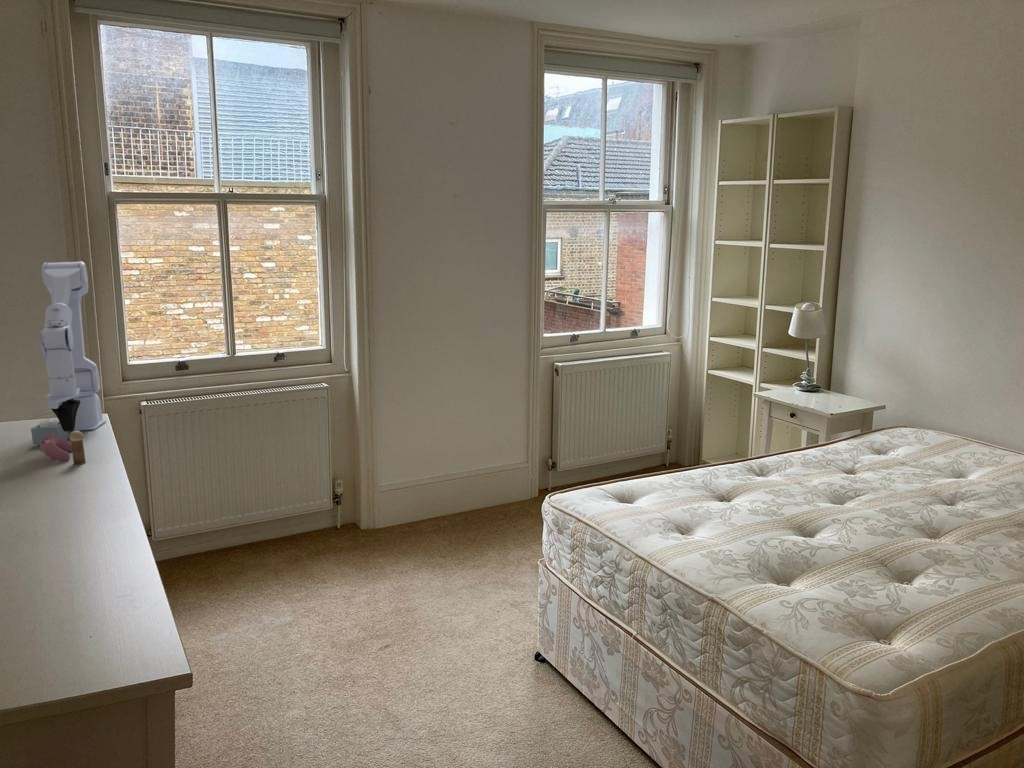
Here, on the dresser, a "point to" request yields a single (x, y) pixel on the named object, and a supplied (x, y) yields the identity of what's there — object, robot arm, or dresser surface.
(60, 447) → the video game controller
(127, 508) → the dresser surface
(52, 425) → the dome
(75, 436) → the post
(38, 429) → the hollow square tube
